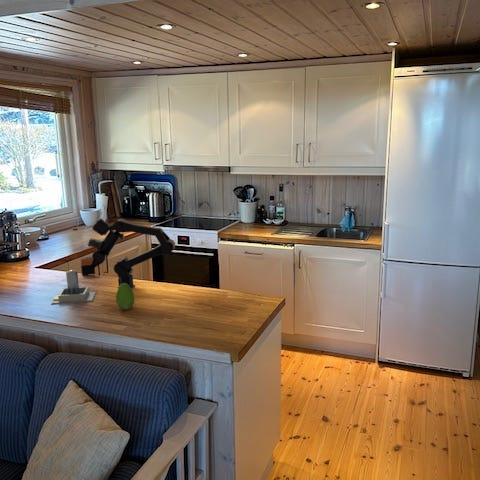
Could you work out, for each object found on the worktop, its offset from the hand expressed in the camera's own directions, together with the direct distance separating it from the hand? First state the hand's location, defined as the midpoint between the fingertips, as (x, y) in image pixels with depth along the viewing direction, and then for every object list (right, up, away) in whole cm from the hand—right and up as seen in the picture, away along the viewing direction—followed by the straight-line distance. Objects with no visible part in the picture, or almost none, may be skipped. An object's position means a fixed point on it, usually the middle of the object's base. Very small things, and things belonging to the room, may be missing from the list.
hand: (92, 266), depth 238 cm
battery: (-11, -6, +30) cm, 33 cm away
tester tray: (-5, -14, -11) cm, 19 cm away
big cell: (-5, -14, -11) cm, 18 cm away
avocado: (+23, -17, -27) cm, 39 cm away
